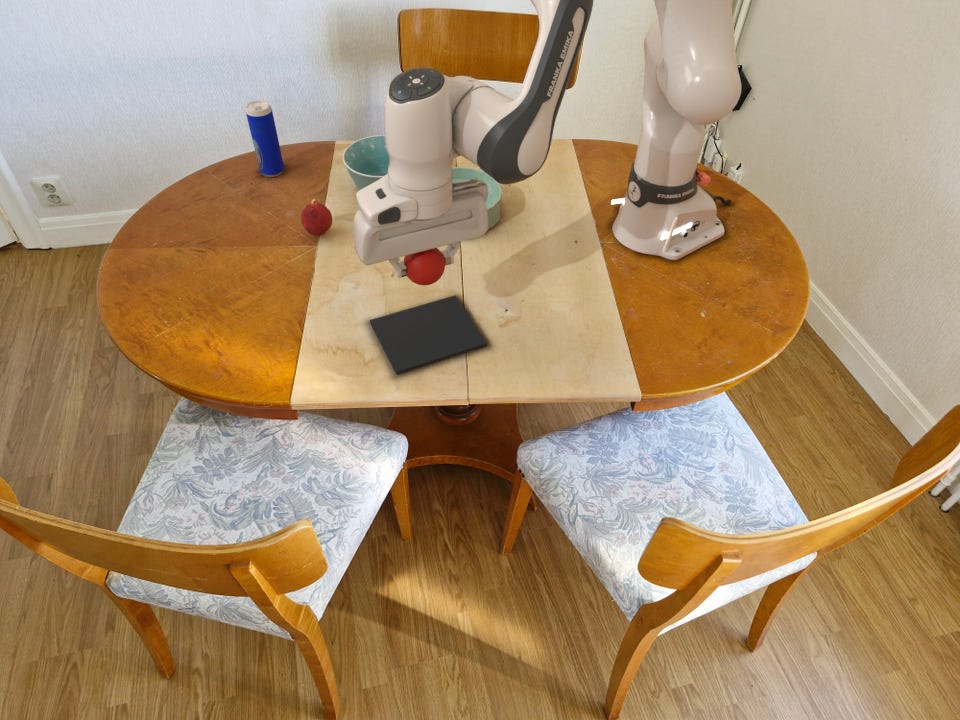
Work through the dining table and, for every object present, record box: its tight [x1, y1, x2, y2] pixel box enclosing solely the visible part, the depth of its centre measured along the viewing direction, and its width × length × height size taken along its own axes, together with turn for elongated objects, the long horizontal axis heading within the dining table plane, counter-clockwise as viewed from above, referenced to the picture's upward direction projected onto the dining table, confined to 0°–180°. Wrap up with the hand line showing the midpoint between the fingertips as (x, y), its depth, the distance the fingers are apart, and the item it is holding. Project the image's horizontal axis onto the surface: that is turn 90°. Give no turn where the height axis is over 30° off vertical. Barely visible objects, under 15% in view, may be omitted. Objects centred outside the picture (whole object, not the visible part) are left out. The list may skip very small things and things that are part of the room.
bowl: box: [342, 134, 390, 191], centre depth 143 cm, size 16×16×8 cm
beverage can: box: [245, 99, 285, 178], centre depth 144 cm, size 5×5×15 cm
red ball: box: [402, 247, 446, 286], centre depth 106 cm, size 6×6×6 cm
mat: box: [369, 295, 488, 376], centre depth 116 cm, size 16×13×1 cm
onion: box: [300, 198, 333, 237], centre depth 132 cm, size 6×6×8 cm
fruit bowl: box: [452, 166, 503, 230], centre depth 139 cm, size 17×17×6 cm
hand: (424, 268), depth 106 cm, fingers closed on red ball, 6 cm apart
